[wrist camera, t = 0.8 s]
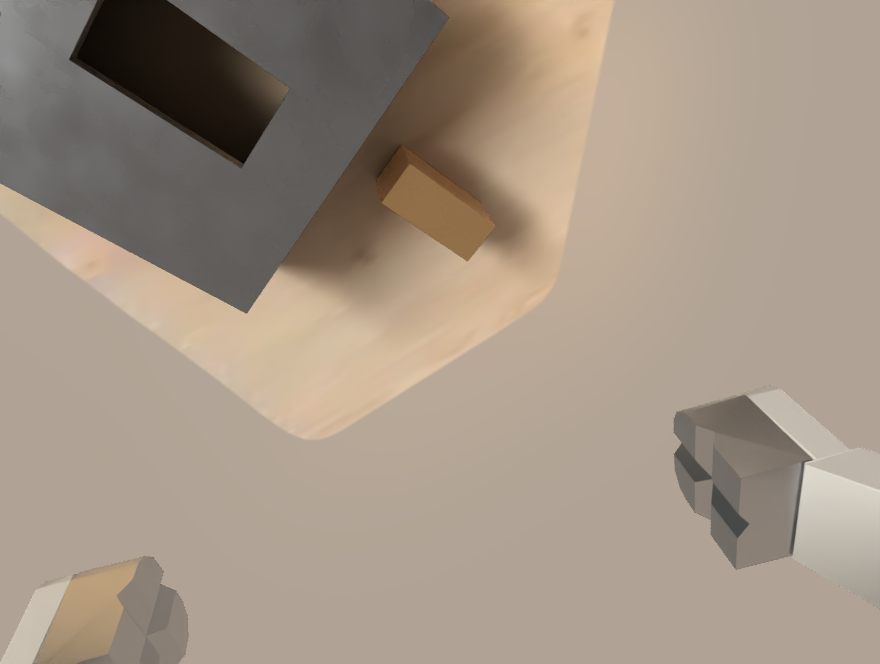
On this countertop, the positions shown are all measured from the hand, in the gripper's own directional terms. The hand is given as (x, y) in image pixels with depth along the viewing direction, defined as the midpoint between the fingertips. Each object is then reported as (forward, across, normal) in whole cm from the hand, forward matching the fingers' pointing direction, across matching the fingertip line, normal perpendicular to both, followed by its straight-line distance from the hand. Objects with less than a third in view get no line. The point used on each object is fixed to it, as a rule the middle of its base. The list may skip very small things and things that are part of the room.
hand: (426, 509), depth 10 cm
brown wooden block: (+36, -4, +6) cm, 37 cm away
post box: (+36, +7, -5) cm, 37 cm away
